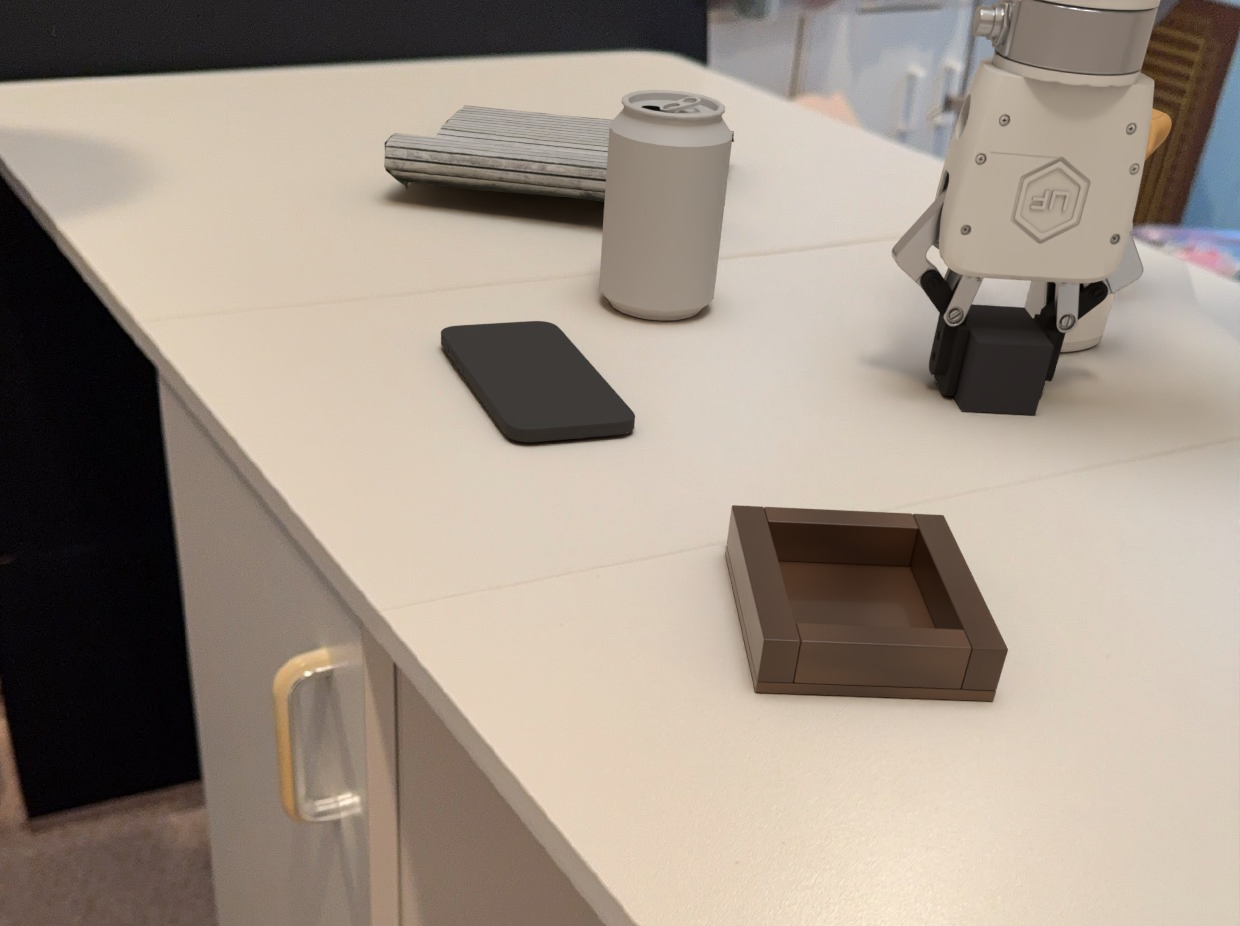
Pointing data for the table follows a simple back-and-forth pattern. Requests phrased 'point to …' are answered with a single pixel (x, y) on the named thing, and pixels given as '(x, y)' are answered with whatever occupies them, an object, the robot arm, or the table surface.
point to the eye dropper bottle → (1087, 326)
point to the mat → (507, 154)
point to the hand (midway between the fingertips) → (986, 386)
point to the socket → (860, 605)
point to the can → (664, 204)
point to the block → (1003, 362)
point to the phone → (536, 381)
